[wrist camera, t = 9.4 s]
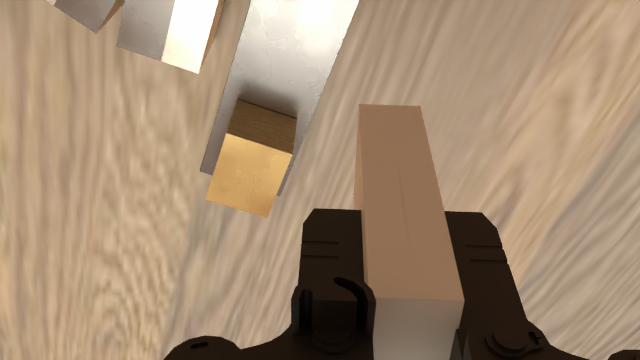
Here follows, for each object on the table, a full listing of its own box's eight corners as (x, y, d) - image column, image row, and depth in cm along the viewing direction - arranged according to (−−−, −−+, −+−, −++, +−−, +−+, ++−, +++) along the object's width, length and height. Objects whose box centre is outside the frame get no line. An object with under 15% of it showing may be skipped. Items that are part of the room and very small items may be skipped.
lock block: (236, 99, 31) (226, 133, 28) (297, 119, 31) (292, 154, 28) (216, 161, 33) (205, 199, 30) (273, 179, 33) (267, 217, 31)
